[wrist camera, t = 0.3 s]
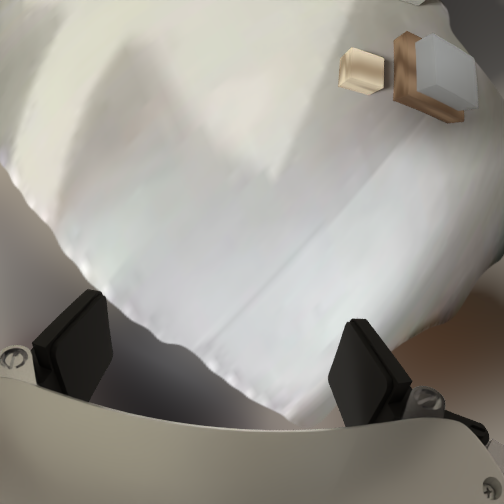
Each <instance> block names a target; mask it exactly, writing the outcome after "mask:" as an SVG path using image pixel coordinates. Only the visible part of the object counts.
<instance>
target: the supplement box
mask: <svg viewBox="0 0 504 504" xmlns="http://www.w3.org/2000/svg"><path fill="white" fill-rule="evenodd" d="M401 1H404V2H408V3H411V4H414V5H417V6H419V5H420V4H421V3H423V2H424V1H425V0H401Z"/></svg>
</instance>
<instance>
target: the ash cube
mask: <svg viewBox="0 0 504 504" xmlns="http://www.w3.org/2000/svg"><path fill="white" fill-rule="evenodd" d="M383 84H384V58H382V57H379V56H377V55H374V54H371V53H368V52H365V51H362V50H359V49H356V48H353V47H351V48H350V49H349V50H348V51H347V52H346V53H345V54H344V55H343V56H342V57H341V58H340V69H339V83H338V87H342V88H345V89H349V90H353V91H356V92H360V93H363V94H366V95H370V94H372V93H374V92H376V91H378V90H380V89H382V88H383Z"/></svg>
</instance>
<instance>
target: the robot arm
mask: <svg viewBox="0 0 504 504" xmlns="http://www.w3.org/2000/svg"><path fill="white" fill-rule="evenodd" d="M32 344H33V348H32V350H31V351H30V350H29V349H28V348H26V347H24V346H20V345H15V346H14V345H13V346H10V347H7V348H5V349H3V350H2V351H1V352H0V504H504V445H502V444H500V443H499V442H497V441H496V440H494V439H492V440H491V441H489V434H488V431H487V430H486V428H485V427H484V425H482V424H481V423H478V422H476V421H473V420H470V419H468V418H465V417H462V416H460V415H457V414H454V413H452V412H449V411H447V410H445V400H444V398H443V396H442V395H441V394H440V393H439V392H438V391H437V390H435V389H433V388H430V387H427V386H419V387H416V388H414V389H412V388H411V387H410V385H411V383H412V380H411V378H410V377H409V376H408V374H407V373H406V372H405V370H404V369H403V367H402V366H401V365H400V363H399V362H398V361H397V359H396V358H395V357H394V355H393V354H392V353H391V351H390V350H389V348H388V347H387V346H386V345H385V343H384V342H383V341H382V339H381V338H380V337H379V335H378V334H377V333H376V331H375V330H374V329H373V327H372V326H371V325H370V324H369V322H368V321H367V320H366V319H351V320H350V322H347V323H346V325H345V328H344V331H343V334H342V337H341V340H340V343H339V346H338V349H337V352H336V355H335V358H334V361H333V364H332V366H331V369H330V372H329V375H328V382H329V385H330V387H331V390H332V392H333V395H334V398H335V400H336V403H337V405H338V408H339V411H340V413H341V416H342V418H343V421H344V424H345V426H346V427H341V428H331V429H314V430H247V429H231V428H219V427H209V426H198V425H192V424H185V423H178V422H172V421H166V420H160V419H154V418H148V417H144V416H140V415H135V414H131V413H126V412H122V411H118V410H114V409H110V408H107V407H103V406H99V405H96V404H93V403H89V400H90V398H91V396H92V395H93V393H94V391H95V389H96V387H97V385H98V384H99V382H100V380H101V378H102V376H103V375H104V373H105V371H106V369H107V368H108V366H109V364H110V362H111V360H112V357H113V350H112V343H111V336H110V329H109V321H108V312H107V302H106V297H105V296H103V294H102V292H101V291H95V290H90V289H87V290H86V291H85V292H84V293H83V294H81V296H79V297H78V298H77V299H76V300H75V301H74V302H73V303H72V304H71V305H70V306H69V307H68V308H67V309H66V310H65V311H63V312H62V313H61V314H60V315H59V316H58V317H57V318H56V319H55V320H54V321H53V322H52V323H51V324H50V325H49V326H48V327H47V328H46V329H45V330H44V331H43V332H42V333H41V334H40V335H39V336H38V337H37V338H36V339H35V340H34V341H33V342H32Z"/></svg>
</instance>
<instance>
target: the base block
mask: <svg viewBox="0 0 504 504" xmlns="http://www.w3.org/2000/svg"><path fill="white" fill-rule="evenodd" d="M421 39H422V38H420V37H418V36H416V35H414V34H412V33H410V32H408V31H406V32H405V33H403V34H402V35H401V36H399V37H398V38H396V39H395V40H394V94H393V101H396V102H399V103H401V104H404V105H406V106H409V107H411V108H414V109H416V110H419V111H421V112H424V113H426V114H428V115H430V116H433V117H435V118H437V119H439V120H441V121H443V122H446V123H455V122H464V110H462V111H457V110H455V109H454V108H452V107H450V106H448V105H446V104H444V103H442V102H440V101H438V100H435V99H433V98H431V97H429V96H427V95H425V94H422V93H420V92H418V91H417V70H416V49H415V43H416V42H417V41H419V40H421Z"/></svg>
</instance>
